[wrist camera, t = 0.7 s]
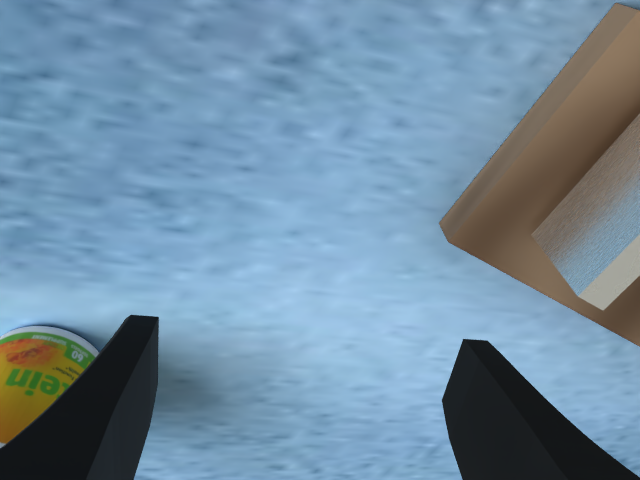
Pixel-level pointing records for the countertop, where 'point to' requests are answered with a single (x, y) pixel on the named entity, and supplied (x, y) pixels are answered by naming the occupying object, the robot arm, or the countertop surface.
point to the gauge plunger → (599, 225)
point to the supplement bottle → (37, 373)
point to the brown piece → (556, 168)
